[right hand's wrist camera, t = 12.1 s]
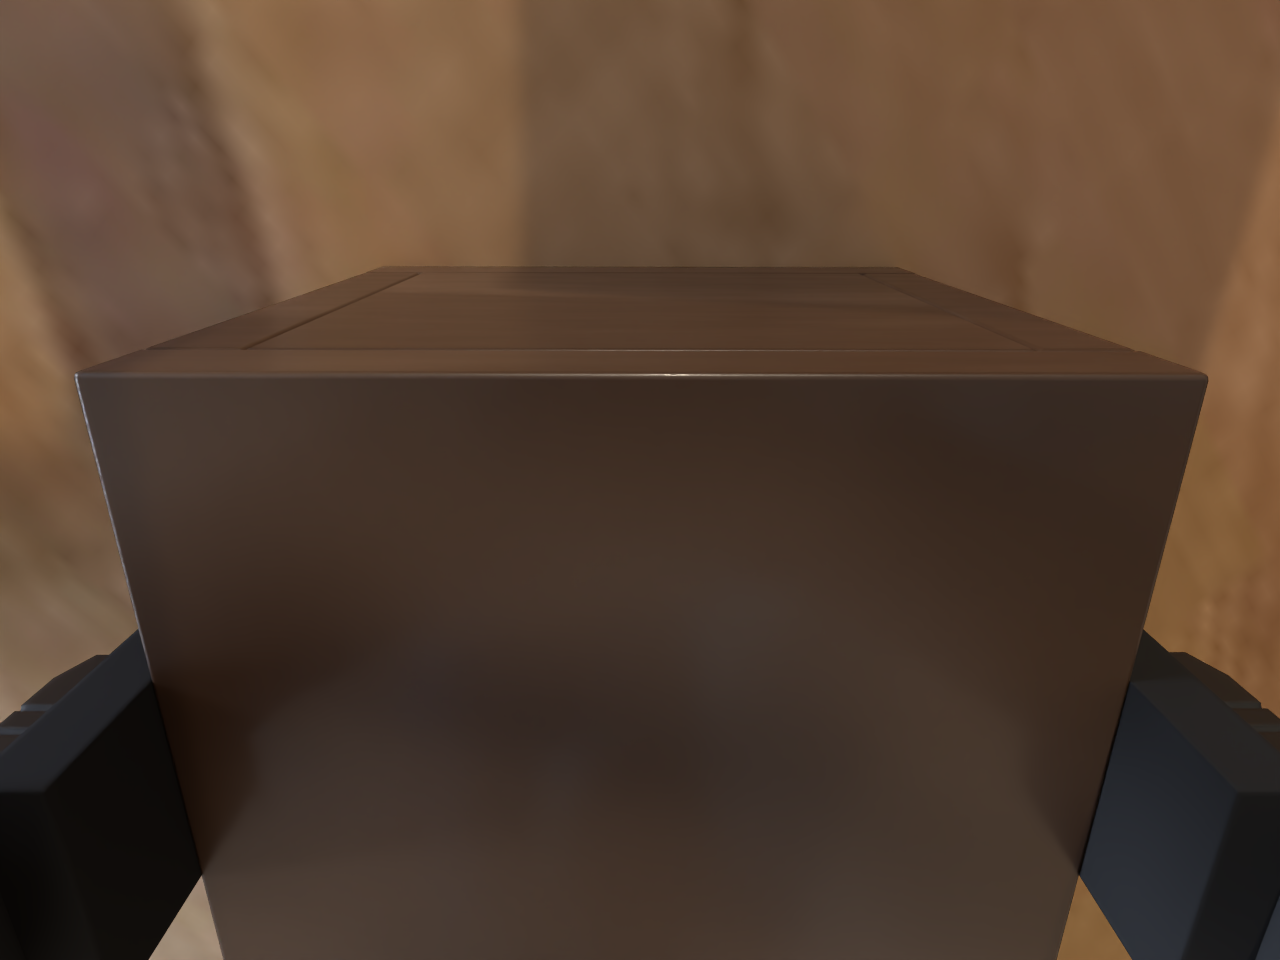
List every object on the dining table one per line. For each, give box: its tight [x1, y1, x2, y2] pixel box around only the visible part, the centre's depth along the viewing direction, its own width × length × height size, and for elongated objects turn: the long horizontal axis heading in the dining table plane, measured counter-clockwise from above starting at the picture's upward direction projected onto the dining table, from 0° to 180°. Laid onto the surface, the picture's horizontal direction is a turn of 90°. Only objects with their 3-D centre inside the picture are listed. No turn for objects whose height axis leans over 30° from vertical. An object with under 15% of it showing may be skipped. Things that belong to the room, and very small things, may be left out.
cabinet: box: [74, 267, 1208, 960], centre depth 15 cm, size 21×10×9 cm, turn 0°
